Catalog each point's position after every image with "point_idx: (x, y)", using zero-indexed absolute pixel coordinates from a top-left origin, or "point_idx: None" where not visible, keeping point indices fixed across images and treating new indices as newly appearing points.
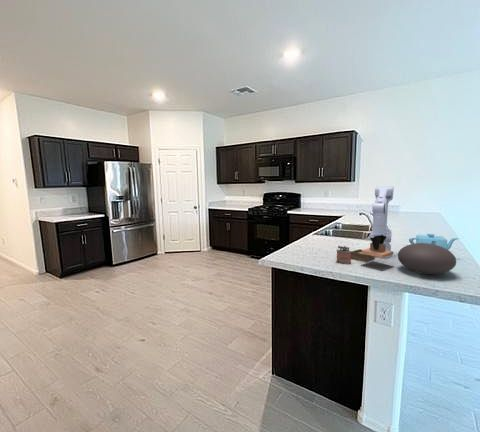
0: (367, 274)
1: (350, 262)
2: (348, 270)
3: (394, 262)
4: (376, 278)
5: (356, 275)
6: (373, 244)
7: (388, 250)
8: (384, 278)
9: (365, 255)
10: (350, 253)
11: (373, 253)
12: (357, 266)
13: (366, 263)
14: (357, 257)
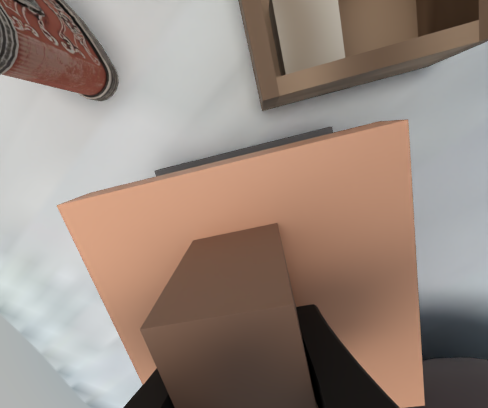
0: (77, 315)
1: (97, 94)
2: (7, 217)
3: (481, 217)
4: (82, 371)
5: (7, 302)
6: (143, 405)
7: (420, 356)
8: (120, 386)
9: (262, 99)
10: (8, 72)
11: (131, 348)
12: (120, 174)
13: (227, 157)
14: (240, 6)
